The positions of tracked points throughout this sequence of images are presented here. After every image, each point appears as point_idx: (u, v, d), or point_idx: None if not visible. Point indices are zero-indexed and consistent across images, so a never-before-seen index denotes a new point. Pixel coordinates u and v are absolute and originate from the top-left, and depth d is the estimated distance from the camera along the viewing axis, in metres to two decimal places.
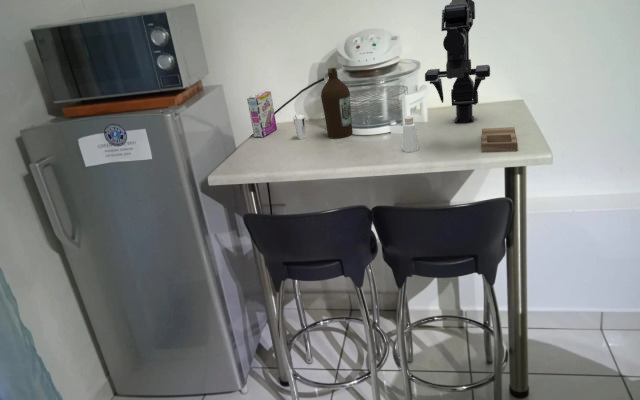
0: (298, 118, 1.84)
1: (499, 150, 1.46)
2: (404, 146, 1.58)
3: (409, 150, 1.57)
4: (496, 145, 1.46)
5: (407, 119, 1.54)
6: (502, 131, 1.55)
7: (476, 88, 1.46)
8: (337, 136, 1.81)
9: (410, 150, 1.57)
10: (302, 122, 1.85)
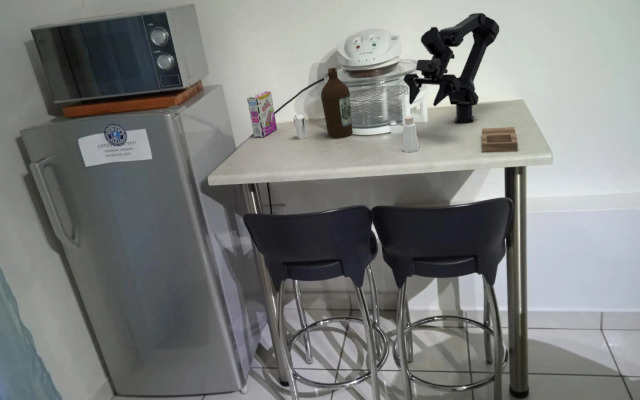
0: (298, 118, 1.84)
1: (499, 150, 1.46)
2: (404, 146, 1.58)
3: (409, 150, 1.57)
4: (496, 145, 1.46)
5: (407, 119, 1.54)
6: (502, 131, 1.55)
7: (439, 92, 1.55)
8: (337, 136, 1.81)
9: (410, 150, 1.57)
10: (302, 122, 1.85)
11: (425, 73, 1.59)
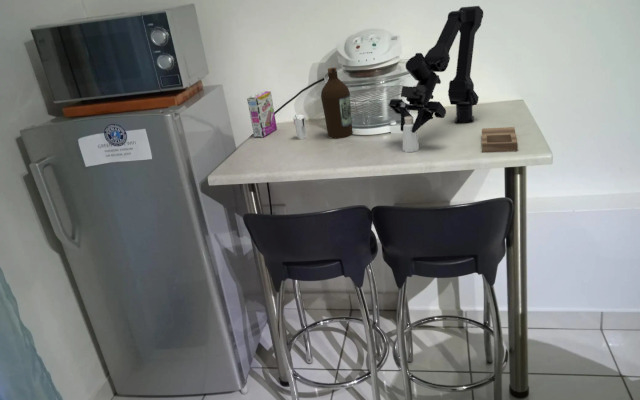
0: (298, 118, 1.84)
1: (499, 150, 1.46)
2: (404, 146, 1.58)
3: (409, 150, 1.57)
4: (496, 145, 1.46)
5: (407, 119, 1.54)
6: (502, 131, 1.55)
7: (417, 119, 1.53)
8: (337, 136, 1.81)
9: (410, 150, 1.57)
10: (302, 122, 1.85)
11: (410, 100, 1.56)
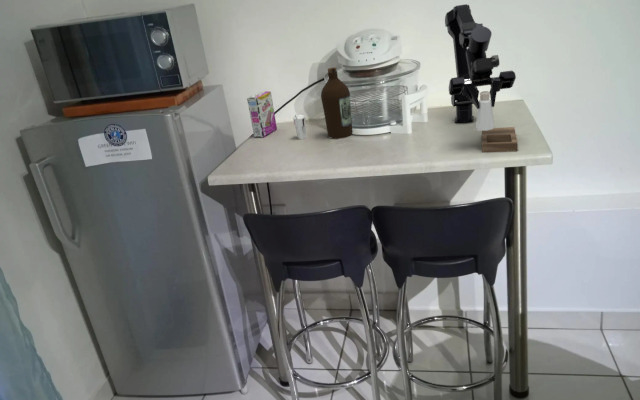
0: (298, 118, 1.84)
1: (499, 150, 1.46)
2: (483, 125, 1.46)
3: (490, 127, 1.46)
4: (496, 145, 1.46)
5: (487, 94, 1.43)
6: (502, 131, 1.55)
7: (495, 92, 1.44)
8: (337, 136, 1.81)
9: (491, 127, 1.46)
10: (302, 122, 1.85)
11: (477, 74, 1.45)
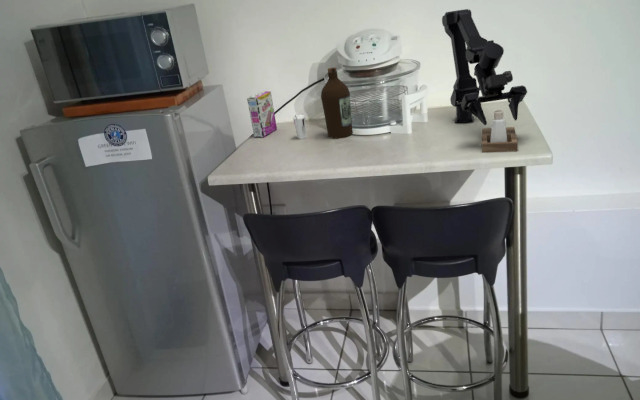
0: (298, 118, 1.84)
1: (499, 150, 1.46)
2: None
3: None
4: (496, 145, 1.46)
5: (501, 113, 1.46)
6: None
7: (516, 106, 1.47)
8: (337, 136, 1.81)
9: None
10: (302, 122, 1.85)
11: (490, 90, 1.47)
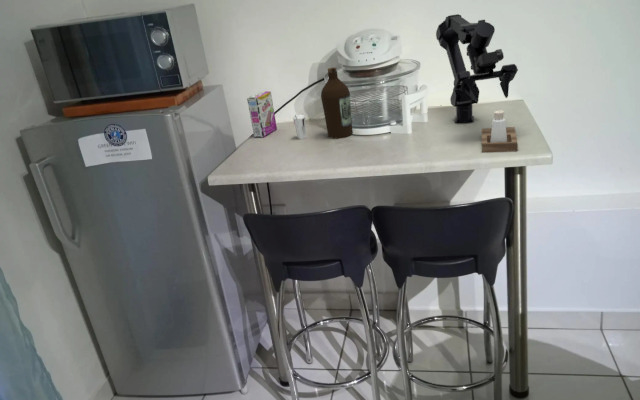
0: (298, 118, 1.84)
1: (499, 150, 1.46)
2: None
3: None
4: (496, 145, 1.46)
5: (501, 113, 1.46)
6: None
7: (507, 83, 1.51)
8: (337, 136, 1.81)
9: None
10: (302, 122, 1.85)
11: (482, 68, 1.51)
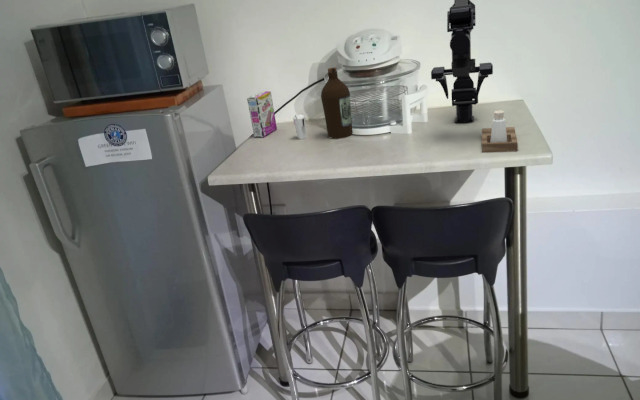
0: (298, 118, 1.84)
1: (499, 150, 1.46)
2: None
3: None
4: (496, 145, 1.46)
5: (501, 113, 1.46)
6: None
7: (479, 85, 1.55)
8: (337, 136, 1.81)
9: None
10: (302, 122, 1.85)
11: None
